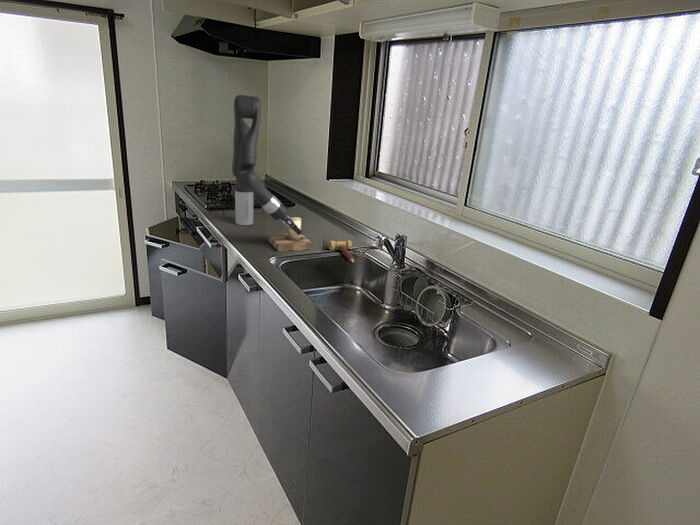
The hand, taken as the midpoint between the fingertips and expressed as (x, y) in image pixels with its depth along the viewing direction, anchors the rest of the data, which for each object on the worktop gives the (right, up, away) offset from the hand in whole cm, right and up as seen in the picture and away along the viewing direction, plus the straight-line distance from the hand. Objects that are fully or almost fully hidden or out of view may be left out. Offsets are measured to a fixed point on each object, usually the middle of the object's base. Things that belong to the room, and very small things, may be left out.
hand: (298, 231), depth 207 cm
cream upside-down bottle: (-2, -6, +1) cm, 6 cm away
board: (-4, -6, +1) cm, 7 cm away
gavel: (+22, -12, -6) cm, 26 cm away
